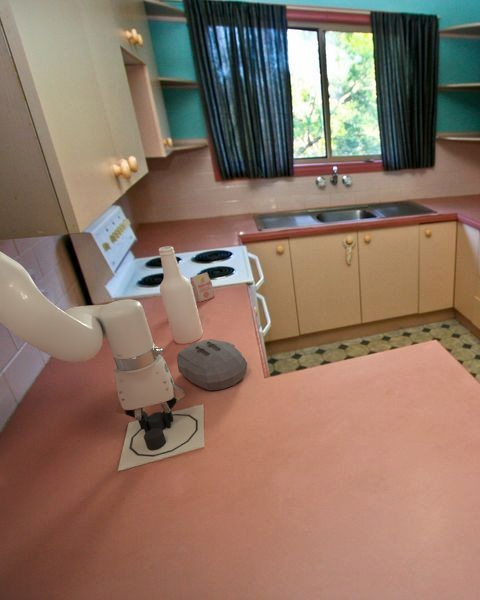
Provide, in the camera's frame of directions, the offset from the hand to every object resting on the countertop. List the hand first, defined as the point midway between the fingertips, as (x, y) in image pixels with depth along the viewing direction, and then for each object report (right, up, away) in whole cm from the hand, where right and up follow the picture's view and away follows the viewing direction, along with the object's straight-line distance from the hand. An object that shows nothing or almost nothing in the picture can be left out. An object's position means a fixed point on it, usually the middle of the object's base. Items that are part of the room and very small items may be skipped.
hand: (158, 426), depth 96 cm
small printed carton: (-22, +29, +70) cm, 79 cm away
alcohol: (-13, +16, +40) cm, 45 cm away
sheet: (+3, -1, -2) cm, 3 cm away
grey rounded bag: (+4, +8, +20) cm, 22 cm away
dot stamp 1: (0, 0, 0) cm, 0 cm away
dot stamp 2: (+2, -2, -5) cm, 6 cm away
